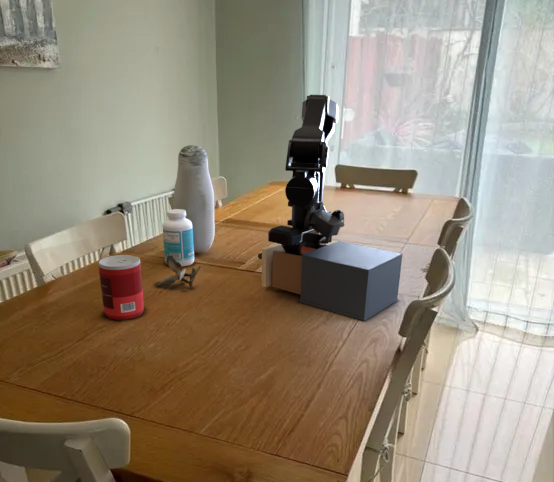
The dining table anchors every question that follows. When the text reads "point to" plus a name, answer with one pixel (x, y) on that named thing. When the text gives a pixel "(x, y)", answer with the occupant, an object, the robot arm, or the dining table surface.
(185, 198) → the white tall rounded cylinder
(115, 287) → the canned food
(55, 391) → the dining table surface
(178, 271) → the eagle figurine
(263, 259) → the drawer
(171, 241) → the pill bottle
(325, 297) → the dark grey rectangular block
